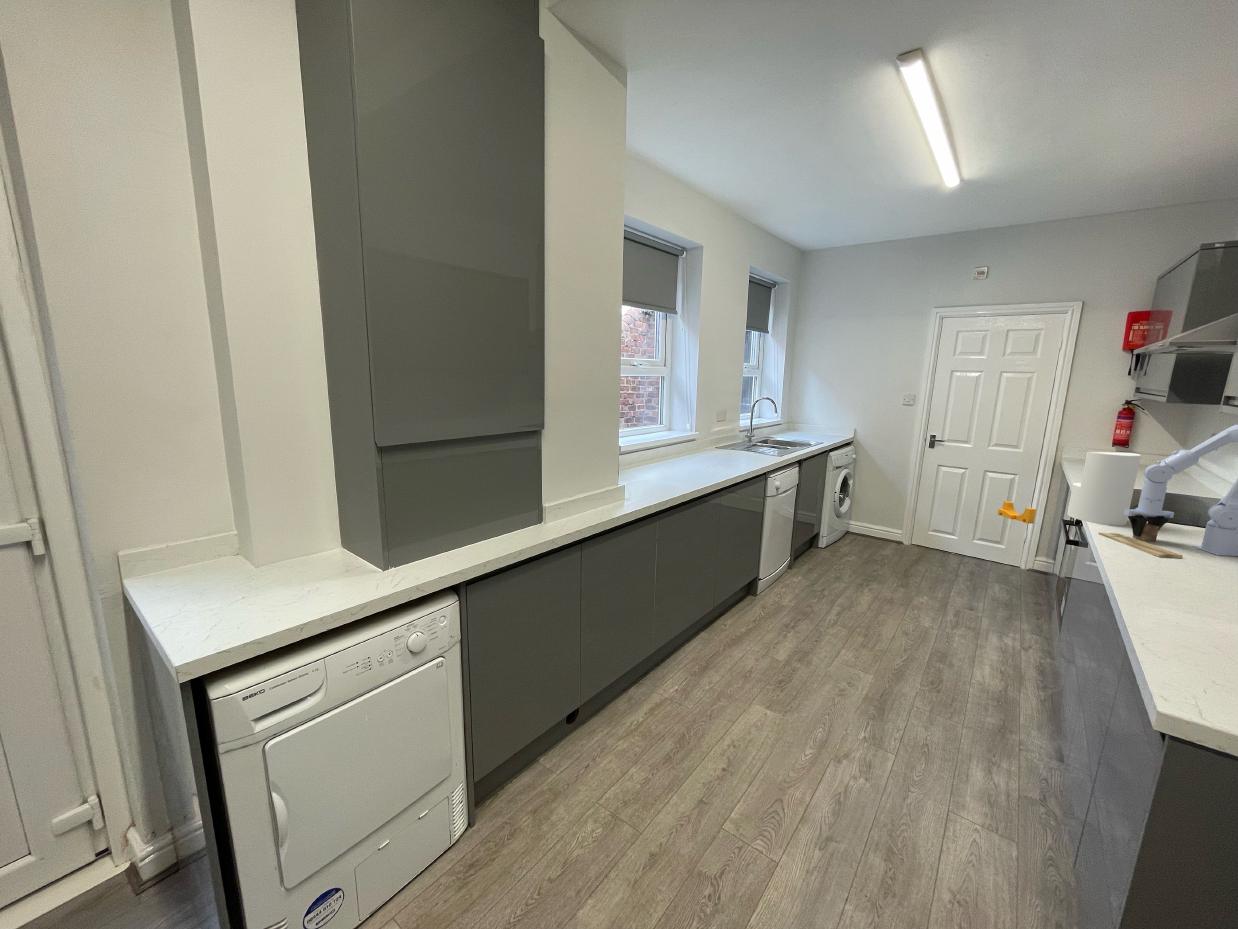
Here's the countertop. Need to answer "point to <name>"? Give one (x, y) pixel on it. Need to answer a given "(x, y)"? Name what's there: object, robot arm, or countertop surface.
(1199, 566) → the countertop surface
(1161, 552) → the oak board
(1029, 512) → the mounting bracket
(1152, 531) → the block
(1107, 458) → the cylinder
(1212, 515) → the robot arm
